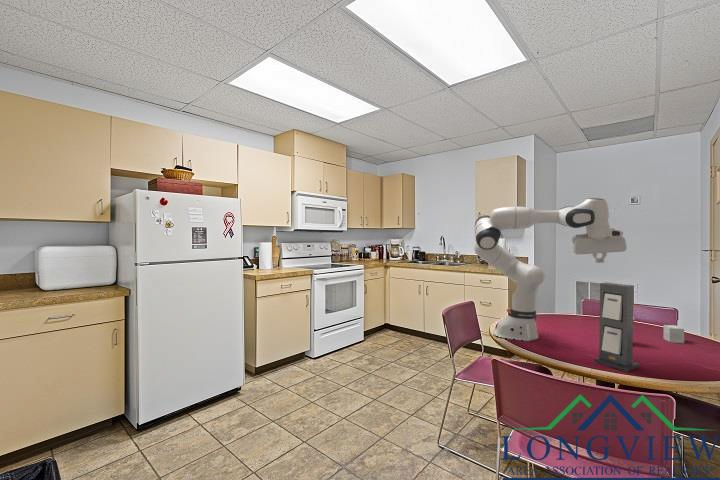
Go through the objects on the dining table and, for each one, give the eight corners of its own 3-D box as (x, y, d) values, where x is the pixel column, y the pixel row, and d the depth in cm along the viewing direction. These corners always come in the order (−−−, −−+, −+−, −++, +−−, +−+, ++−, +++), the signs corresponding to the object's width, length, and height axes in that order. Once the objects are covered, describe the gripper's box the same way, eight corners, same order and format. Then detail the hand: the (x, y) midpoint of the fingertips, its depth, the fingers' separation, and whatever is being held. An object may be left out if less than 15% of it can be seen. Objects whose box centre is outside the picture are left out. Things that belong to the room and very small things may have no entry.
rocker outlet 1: (617, 354, 137) (621, 329, 138) (601, 349, 143) (604, 326, 143) (620, 354, 138) (623, 330, 139) (603, 350, 144) (606, 326, 144)
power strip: (627, 372, 135) (628, 287, 134) (594, 361, 146) (595, 283, 145) (639, 366, 140) (640, 285, 139) (606, 357, 151) (607, 281, 150)
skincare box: (684, 343, 167) (684, 328, 167) (669, 342, 169) (669, 327, 169) (677, 339, 173) (677, 325, 173) (662, 338, 175) (663, 324, 175)
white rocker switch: (618, 320, 137) (621, 295, 138) (601, 316, 142) (604, 293, 143) (620, 320, 138) (623, 296, 139) (604, 317, 143) (607, 293, 144)
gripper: (573, 235, 156) (575, 265, 158) (627, 231, 149) (628, 262, 151) (570, 234, 162) (572, 262, 164) (621, 230, 155) (623, 259, 157)
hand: (599, 262), depth 157 cm, fingers closed
